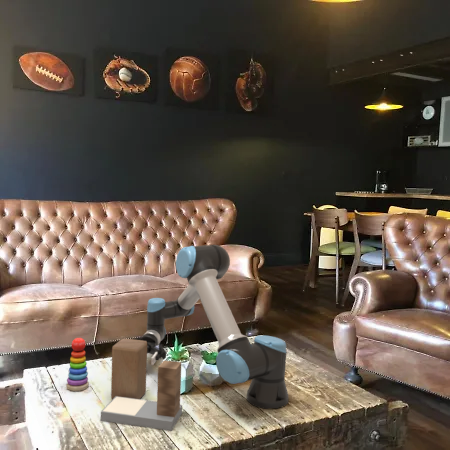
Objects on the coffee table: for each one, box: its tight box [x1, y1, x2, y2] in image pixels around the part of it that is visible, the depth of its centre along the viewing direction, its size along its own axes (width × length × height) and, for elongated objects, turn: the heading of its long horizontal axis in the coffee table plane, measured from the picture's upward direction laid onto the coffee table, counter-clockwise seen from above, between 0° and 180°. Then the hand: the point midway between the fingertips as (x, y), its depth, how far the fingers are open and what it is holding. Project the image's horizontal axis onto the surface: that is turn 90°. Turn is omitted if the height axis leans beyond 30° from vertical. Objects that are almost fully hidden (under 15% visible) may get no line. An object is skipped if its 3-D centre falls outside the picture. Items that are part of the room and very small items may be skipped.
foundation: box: [100, 396, 183, 432], centre depth 166 cm, size 24×12×3 cm, turn 79°
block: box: [110, 337, 148, 401], centre depth 180 cm, size 10×10×20 cm
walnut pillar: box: [156, 360, 182, 417], centre depth 164 cm, size 6×6×16 cm
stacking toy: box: [66, 337, 90, 392], centre depth 186 cm, size 8×8×19 cm
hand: (134, 360), depth 187 cm, fingers open, 13 cm apart
